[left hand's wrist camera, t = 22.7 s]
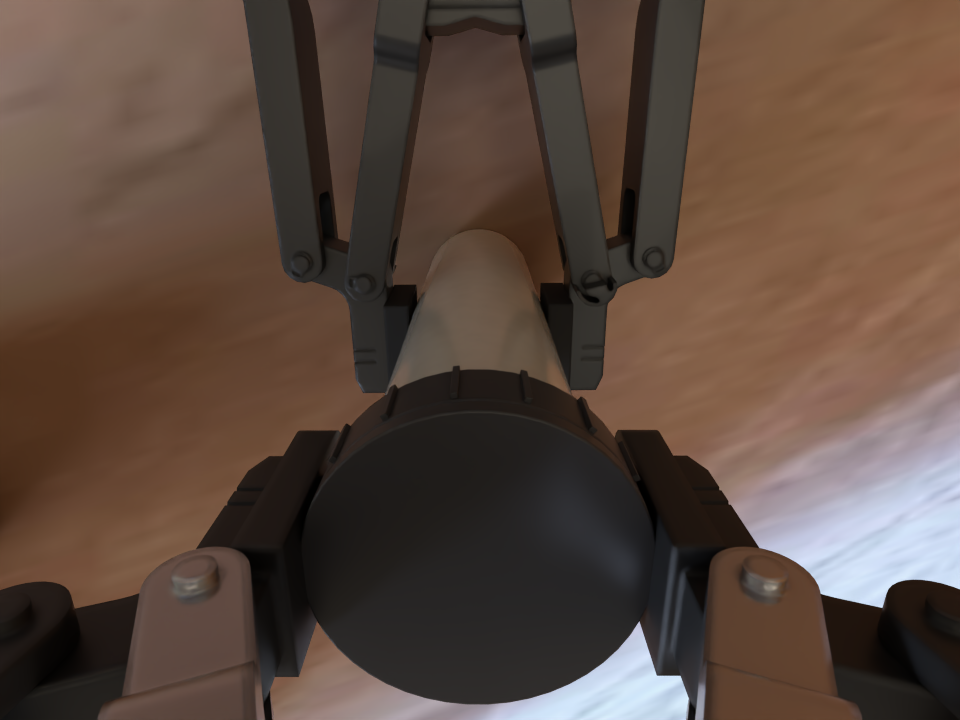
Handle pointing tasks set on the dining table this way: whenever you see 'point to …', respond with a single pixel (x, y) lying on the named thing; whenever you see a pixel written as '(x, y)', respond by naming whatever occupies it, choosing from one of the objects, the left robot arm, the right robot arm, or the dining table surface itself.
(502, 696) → the lid
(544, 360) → the beige cylinder
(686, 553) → the left robot arm
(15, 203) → the dining table surface
